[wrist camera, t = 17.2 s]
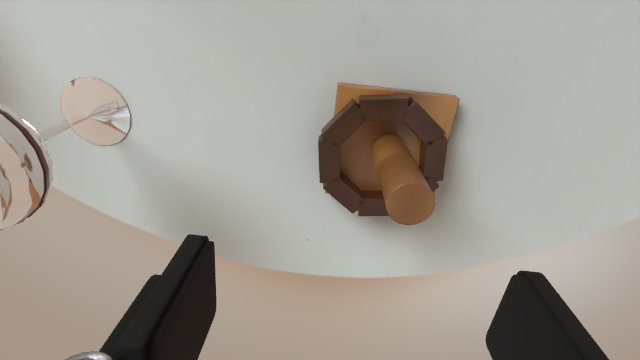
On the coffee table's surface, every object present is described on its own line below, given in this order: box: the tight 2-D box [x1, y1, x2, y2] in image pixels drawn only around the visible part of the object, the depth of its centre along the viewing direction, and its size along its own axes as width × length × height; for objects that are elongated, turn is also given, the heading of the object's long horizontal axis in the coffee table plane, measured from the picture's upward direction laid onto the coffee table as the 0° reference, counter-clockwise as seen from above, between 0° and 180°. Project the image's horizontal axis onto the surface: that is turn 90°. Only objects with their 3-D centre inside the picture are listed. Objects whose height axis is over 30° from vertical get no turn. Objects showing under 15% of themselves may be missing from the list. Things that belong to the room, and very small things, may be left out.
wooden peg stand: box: [325, 83, 459, 225], centre depth 22 cm, size 8×8×9 cm
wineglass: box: [0, 77, 130, 230], centre depth 20 cm, size 7×7×12 cm
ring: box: [318, 94, 448, 216], centre depth 24 cm, size 8×8×1 cm
